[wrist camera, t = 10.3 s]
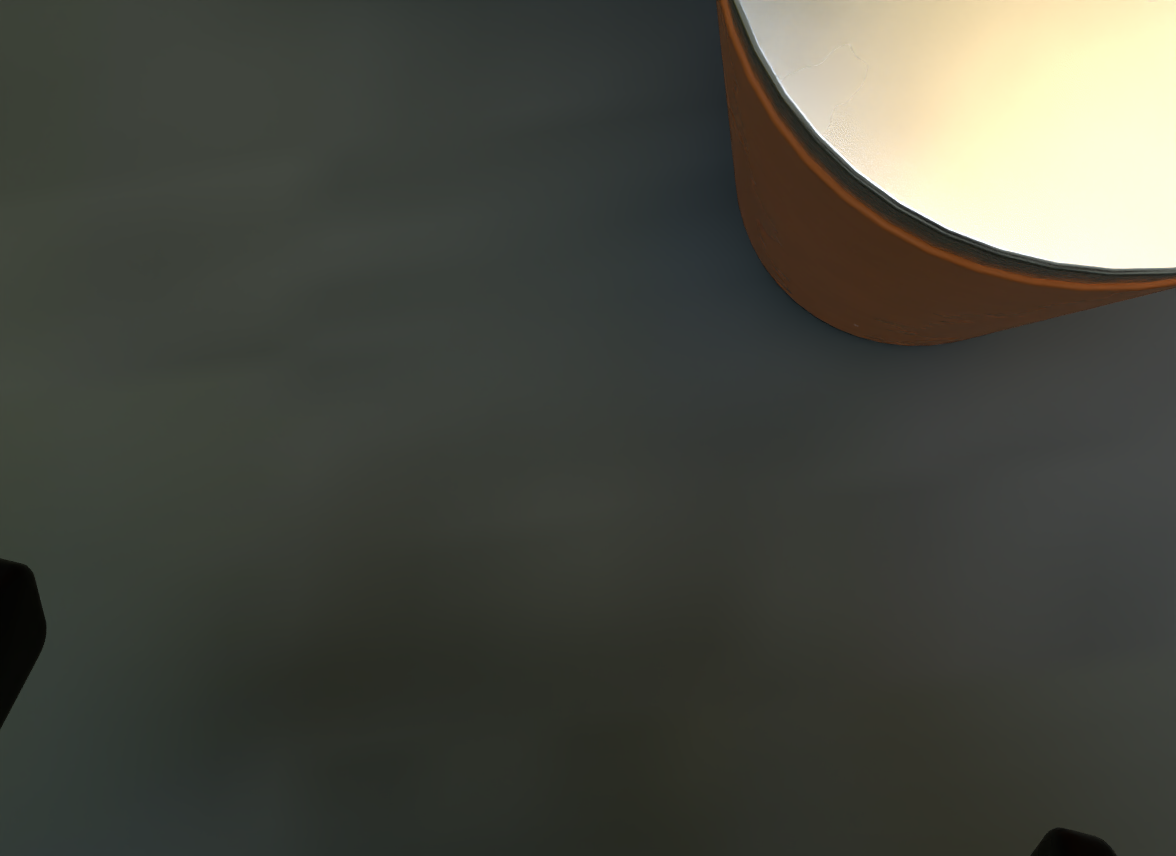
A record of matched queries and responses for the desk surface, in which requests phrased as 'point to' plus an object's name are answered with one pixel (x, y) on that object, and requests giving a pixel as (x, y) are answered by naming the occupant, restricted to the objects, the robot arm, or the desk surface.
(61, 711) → the desk surface
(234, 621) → the desk surface
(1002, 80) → the tin can
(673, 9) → the desk surface
